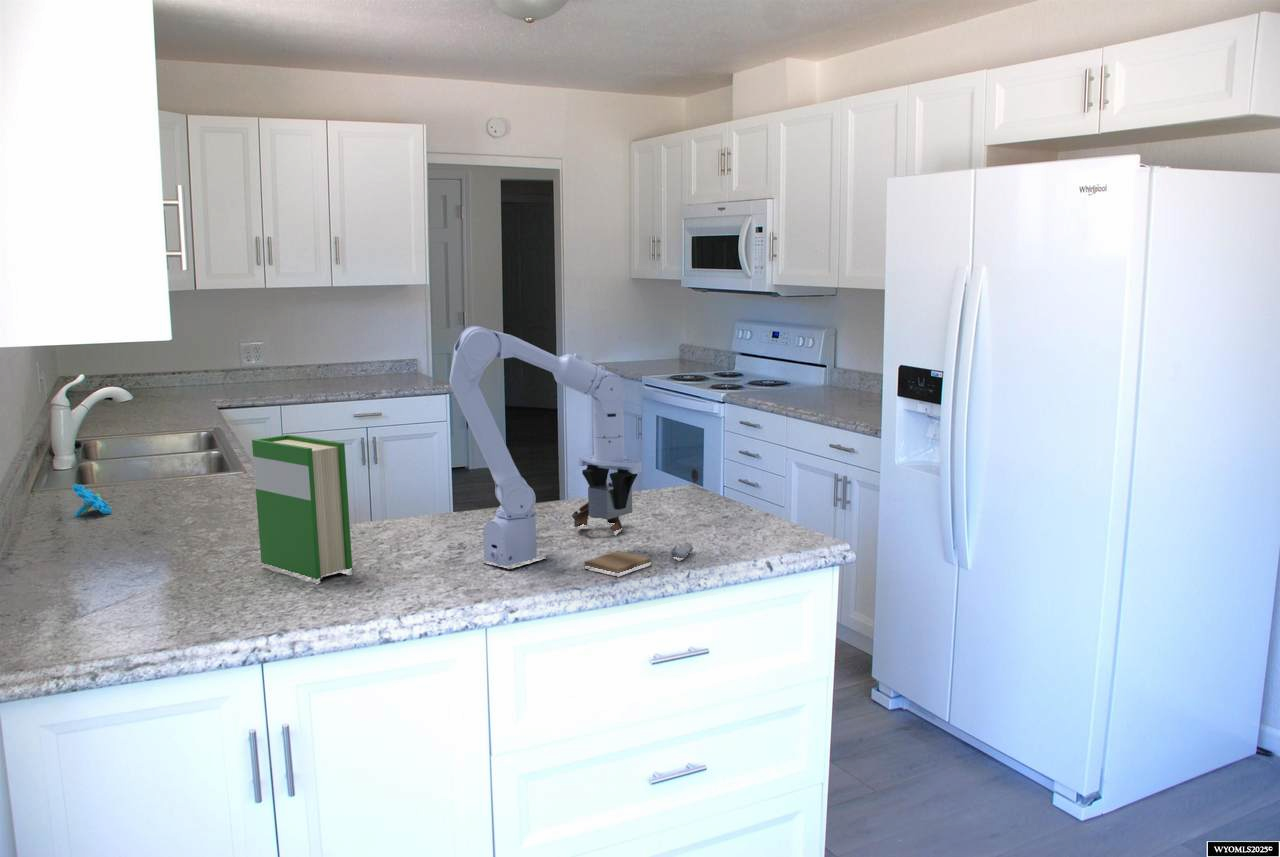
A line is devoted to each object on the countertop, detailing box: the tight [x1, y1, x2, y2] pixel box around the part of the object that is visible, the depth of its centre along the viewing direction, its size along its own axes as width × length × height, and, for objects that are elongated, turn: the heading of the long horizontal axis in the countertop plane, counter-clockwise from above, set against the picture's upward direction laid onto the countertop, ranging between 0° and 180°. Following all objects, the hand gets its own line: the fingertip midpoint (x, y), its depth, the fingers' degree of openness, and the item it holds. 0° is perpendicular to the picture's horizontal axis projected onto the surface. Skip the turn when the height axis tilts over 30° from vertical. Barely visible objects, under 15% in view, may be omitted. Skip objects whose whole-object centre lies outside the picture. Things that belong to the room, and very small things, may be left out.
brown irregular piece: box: [571, 502, 623, 532], centre depth 208 cm, size 12×10×8 cm
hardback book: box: [251, 434, 353, 579], centre depth 182 cm, size 18×7×24 cm, turn 51°
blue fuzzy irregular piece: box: [71, 483, 112, 517], centre depth 232 cm, size 11×6×10 cm
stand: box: [584, 550, 652, 573], centre depth 181 cm, size 9×8×2 cm
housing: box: [587, 481, 633, 521], centre depth 190 cm, size 7×5×6 cm
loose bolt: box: [670, 543, 694, 559], centre depth 187 cm, size 6×3×3 cm, turn 159°
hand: (610, 506), depth 191 cm, fingers closed on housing, 5 cm apart
